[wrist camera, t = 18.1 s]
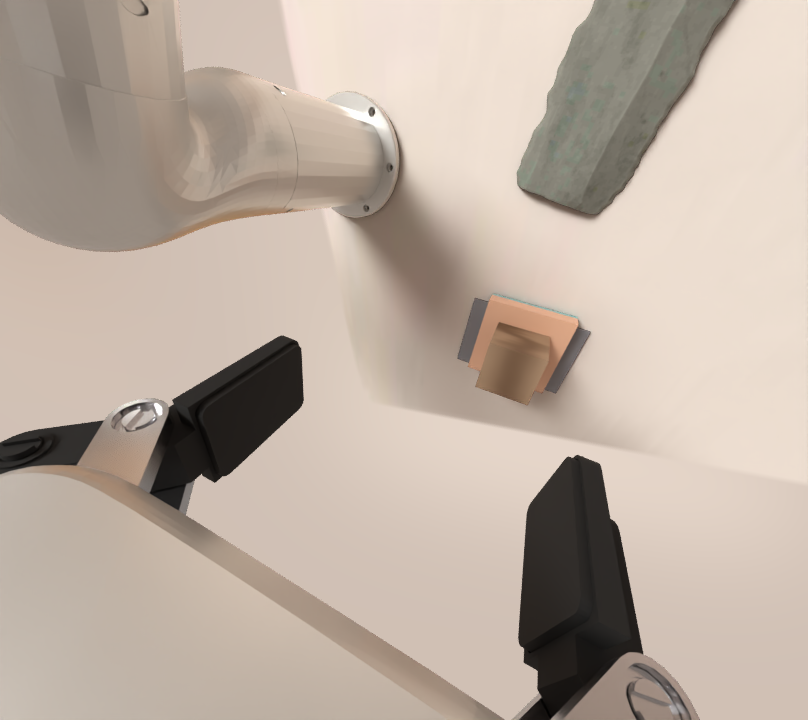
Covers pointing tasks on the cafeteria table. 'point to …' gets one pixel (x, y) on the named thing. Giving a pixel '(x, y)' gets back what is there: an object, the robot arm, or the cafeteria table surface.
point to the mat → (559, 371)
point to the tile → (529, 319)
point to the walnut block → (514, 363)
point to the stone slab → (614, 96)
